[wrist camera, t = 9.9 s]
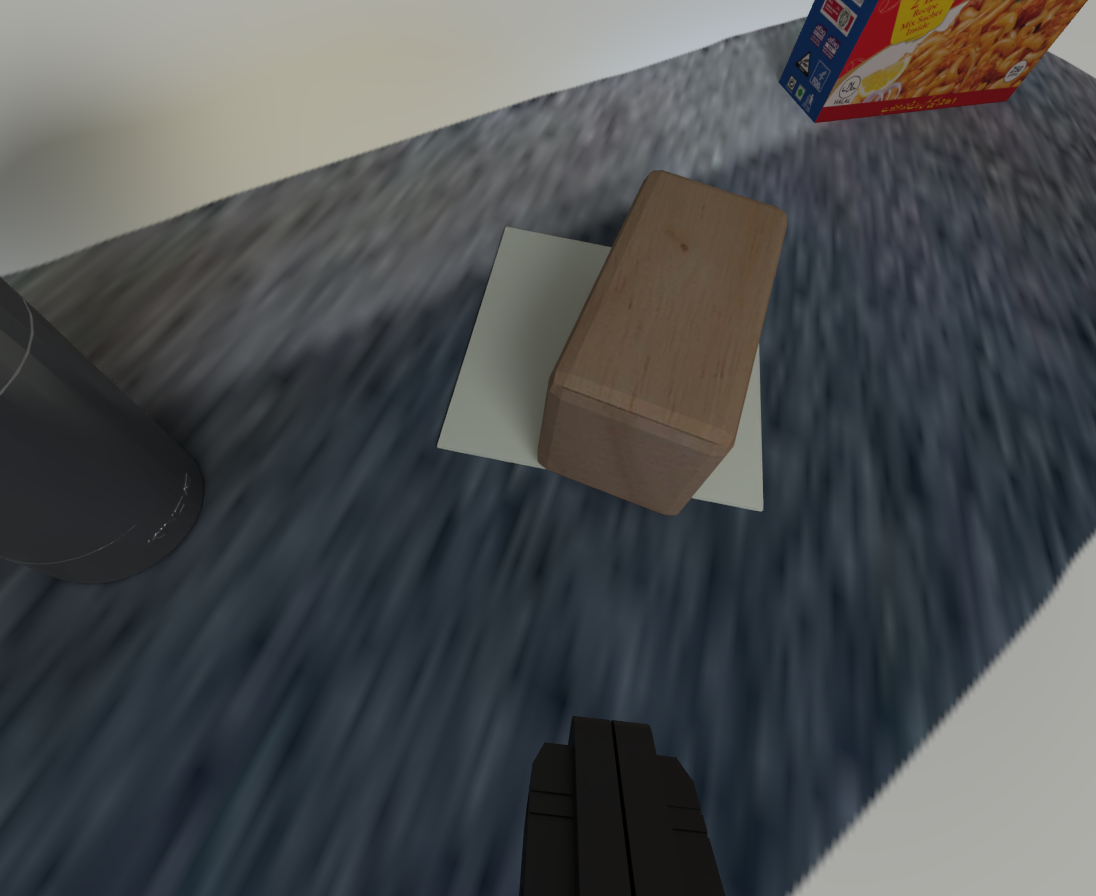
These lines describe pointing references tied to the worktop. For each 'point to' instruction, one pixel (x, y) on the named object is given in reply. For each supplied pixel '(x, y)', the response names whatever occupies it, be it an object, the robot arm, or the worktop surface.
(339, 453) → the worktop surface
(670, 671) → the worktop surface
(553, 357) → the mat
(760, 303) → the wooden block
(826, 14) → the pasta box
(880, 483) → the worktop surface
